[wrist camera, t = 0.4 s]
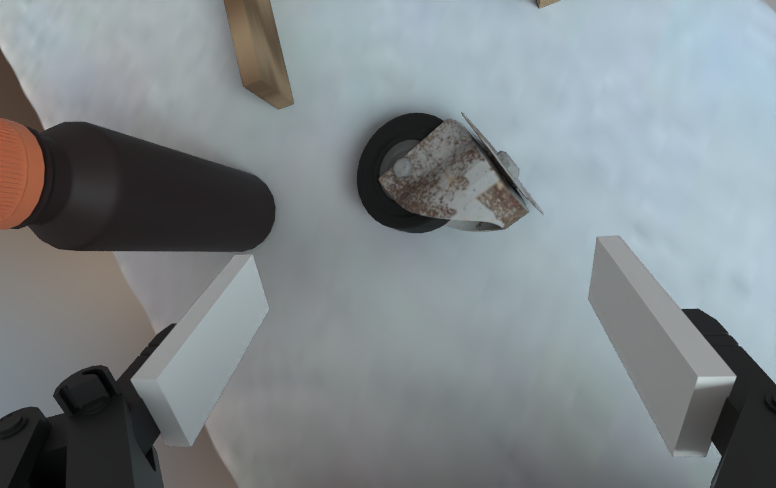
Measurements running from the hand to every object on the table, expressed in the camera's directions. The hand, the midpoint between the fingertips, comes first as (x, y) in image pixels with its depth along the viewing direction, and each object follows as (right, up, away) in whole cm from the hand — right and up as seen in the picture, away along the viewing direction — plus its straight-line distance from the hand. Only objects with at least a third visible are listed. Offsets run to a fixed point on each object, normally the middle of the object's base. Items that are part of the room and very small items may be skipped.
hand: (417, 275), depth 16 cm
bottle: (-14, +4, +20) cm, 24 cm away
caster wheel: (+3, +5, +16) cm, 17 cm away
